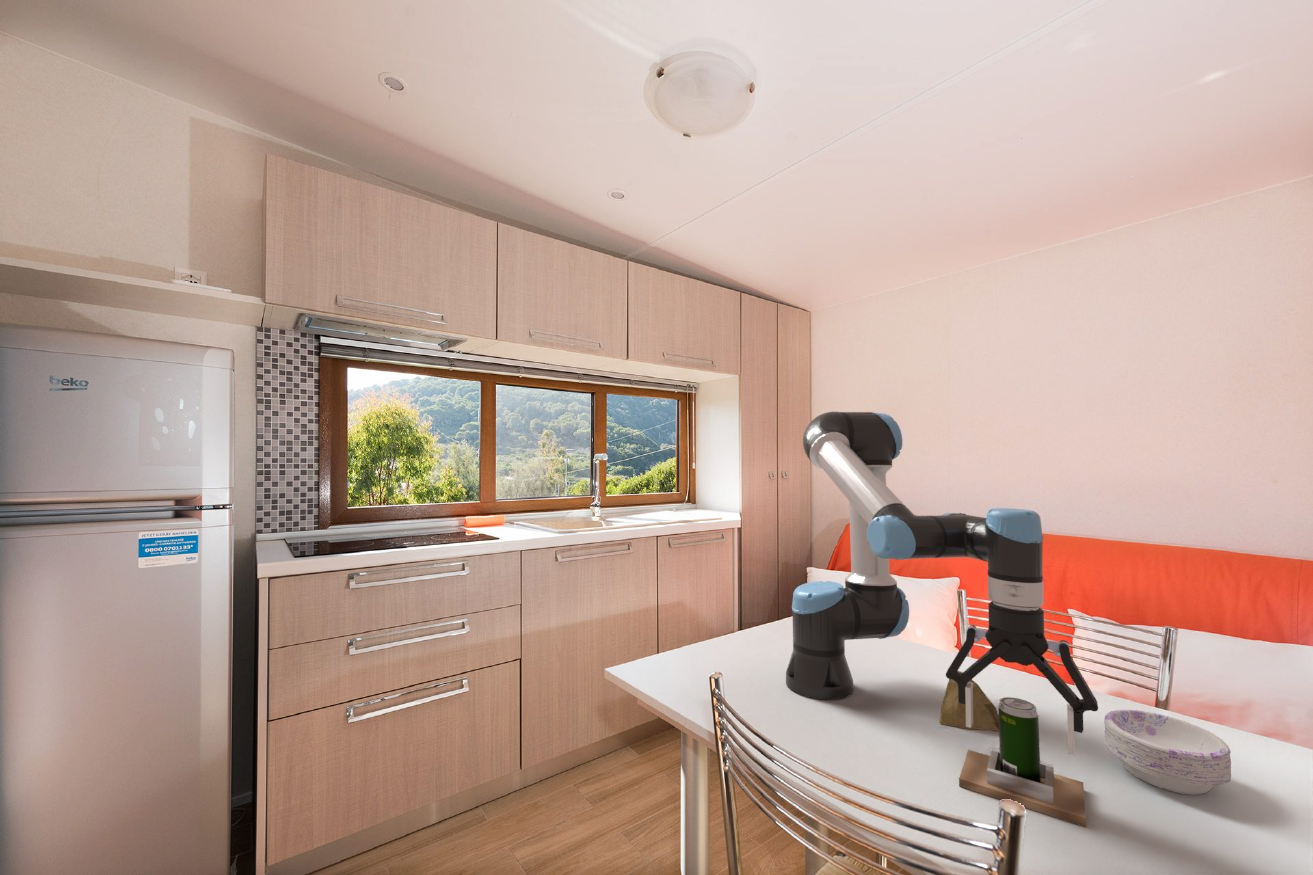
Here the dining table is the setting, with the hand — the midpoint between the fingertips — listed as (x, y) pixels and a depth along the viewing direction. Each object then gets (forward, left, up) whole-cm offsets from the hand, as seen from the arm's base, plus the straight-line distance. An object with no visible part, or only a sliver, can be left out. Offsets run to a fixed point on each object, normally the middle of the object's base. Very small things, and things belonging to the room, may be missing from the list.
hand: (1018, 737), depth 86 cm
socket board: (0, 0, -8) cm, 8 cm away
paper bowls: (+19, +18, -8) cm, 27 cm away
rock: (-9, +19, -8) cm, 22 cm away
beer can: (0, 0, -7) cm, 7 cm away
